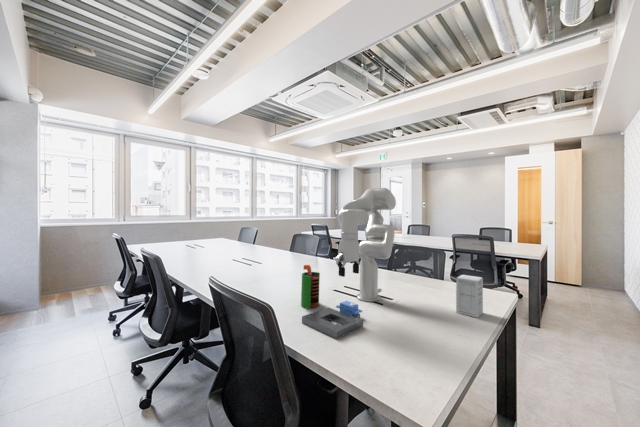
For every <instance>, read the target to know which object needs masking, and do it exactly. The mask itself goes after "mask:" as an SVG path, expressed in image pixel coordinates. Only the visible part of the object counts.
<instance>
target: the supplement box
mask: <svg viewBox="0 0 640 427" xmlns="http://www.w3.org/2000/svg"><path fill="white" fill-rule="evenodd" d="M483 281H484V279H483V277H481V276H475V275H468V274H467V275H466V274H461V275H459V276H457V277H456V282H455V283H456V285H455V289H456V290H455V295H456V297H455V298H456V299H455V306H456V307H455V312H456V313H457V314H459V315H463V316H469V317H473V318H479V317H480V316H481V315H482V314H484V311H483V310H484V308H483V307H484V306H483V305H484V303H483V301H484V300H483V299H484V298H483V296H484V290H483V289H484V286H483V285H484V282H483Z"/></svg>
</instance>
